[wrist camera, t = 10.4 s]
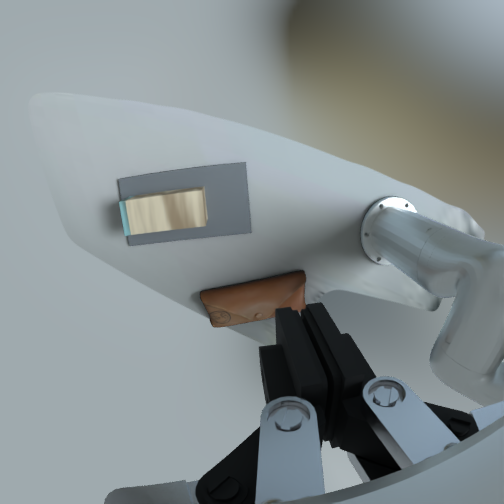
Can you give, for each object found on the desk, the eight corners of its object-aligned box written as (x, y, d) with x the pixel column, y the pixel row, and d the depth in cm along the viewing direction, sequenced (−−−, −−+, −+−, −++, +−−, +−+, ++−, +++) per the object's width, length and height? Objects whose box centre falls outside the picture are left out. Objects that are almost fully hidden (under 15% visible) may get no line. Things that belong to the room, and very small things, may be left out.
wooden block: (201, 190, 39) (118, 201, 38) (205, 226, 41) (124, 235, 40) (204, 186, 44) (129, 196, 43) (207, 218, 46) (134, 227, 45)
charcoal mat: (245, 162, 44) (245, 162, 43) (251, 231, 47) (251, 232, 47) (119, 178, 43) (118, 179, 42) (130, 244, 46) (129, 246, 46)
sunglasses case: (212, 330, 53) (205, 333, 46) (204, 293, 54) (197, 290, 48) (308, 309, 53) (315, 309, 47) (300, 272, 54) (305, 267, 48)
